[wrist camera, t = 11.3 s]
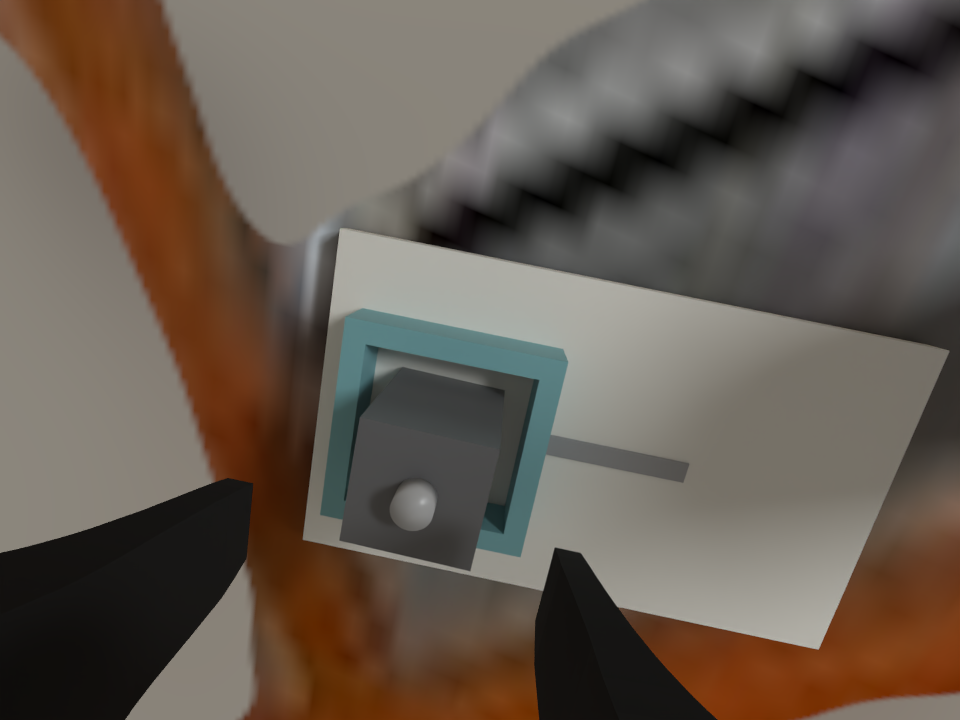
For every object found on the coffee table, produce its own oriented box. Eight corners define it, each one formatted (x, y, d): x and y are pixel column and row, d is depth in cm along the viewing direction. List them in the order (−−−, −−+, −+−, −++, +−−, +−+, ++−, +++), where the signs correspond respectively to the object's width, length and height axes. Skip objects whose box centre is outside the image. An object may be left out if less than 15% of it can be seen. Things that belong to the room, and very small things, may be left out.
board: (927, 344, 19) (1001, 365, 16) (805, 631, 22) (848, 691, 19) (348, 228, 19) (319, 227, 17) (311, 526, 23) (282, 569, 20)
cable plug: (504, 390, 20) (499, 462, 13) (482, 483, 21) (467, 589, 14) (402, 366, 20) (350, 427, 14) (384, 460, 21) (329, 556, 15)
